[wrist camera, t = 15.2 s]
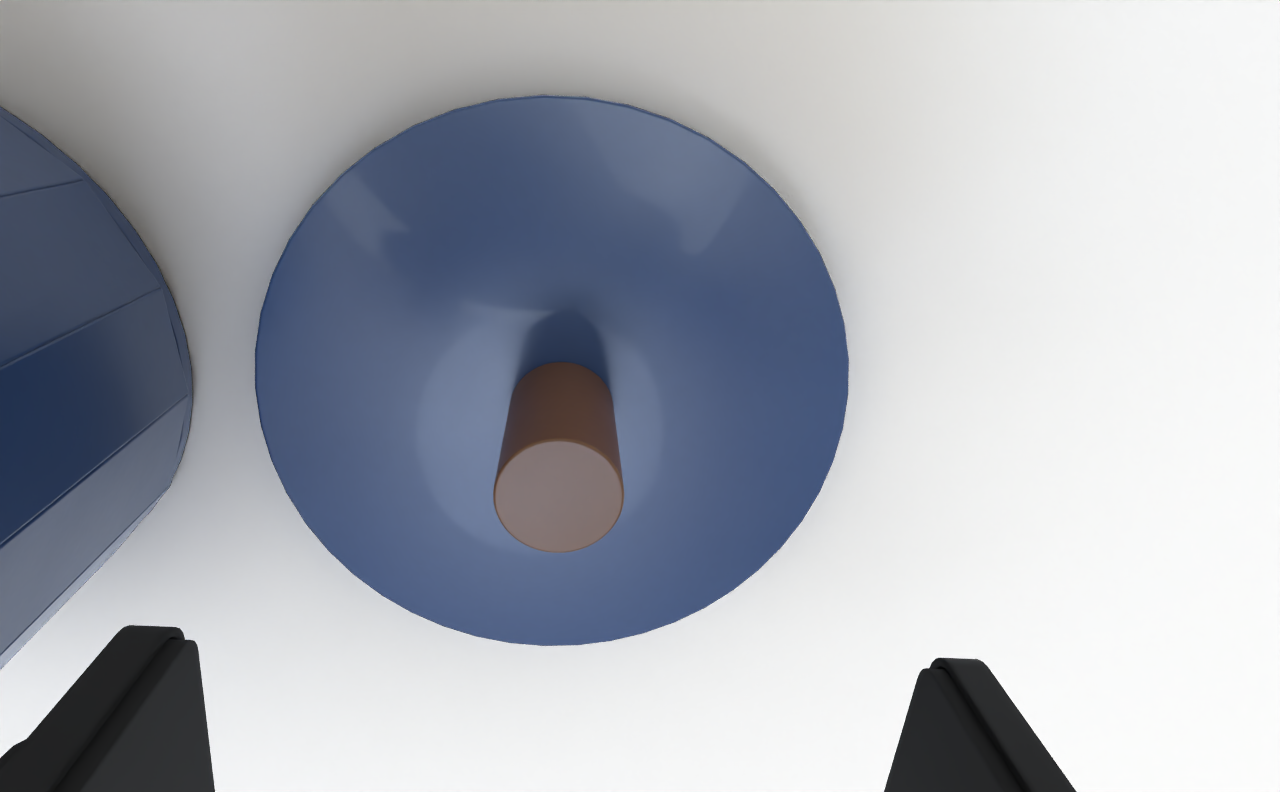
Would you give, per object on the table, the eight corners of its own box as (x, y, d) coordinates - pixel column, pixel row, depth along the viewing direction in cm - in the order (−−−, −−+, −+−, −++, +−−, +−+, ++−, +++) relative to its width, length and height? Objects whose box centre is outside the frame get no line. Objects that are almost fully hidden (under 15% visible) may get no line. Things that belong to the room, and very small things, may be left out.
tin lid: (145, 256, 18) (-25, 326, 13) (716, -20, 17) (780, -65, 12) (451, 688, 24) (417, 858, 19) (900, 502, 23) (999, 628, 18)
